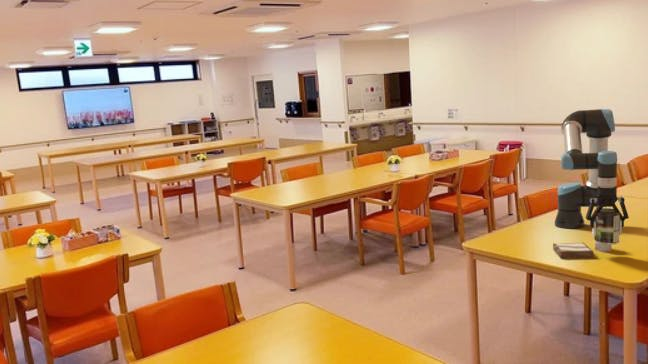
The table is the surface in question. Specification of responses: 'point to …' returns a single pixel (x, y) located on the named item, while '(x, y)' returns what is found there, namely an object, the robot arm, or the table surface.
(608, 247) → the cream egg shape
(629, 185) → the table surface
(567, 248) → the picture frame
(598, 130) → the robot arm
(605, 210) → the coffee can
